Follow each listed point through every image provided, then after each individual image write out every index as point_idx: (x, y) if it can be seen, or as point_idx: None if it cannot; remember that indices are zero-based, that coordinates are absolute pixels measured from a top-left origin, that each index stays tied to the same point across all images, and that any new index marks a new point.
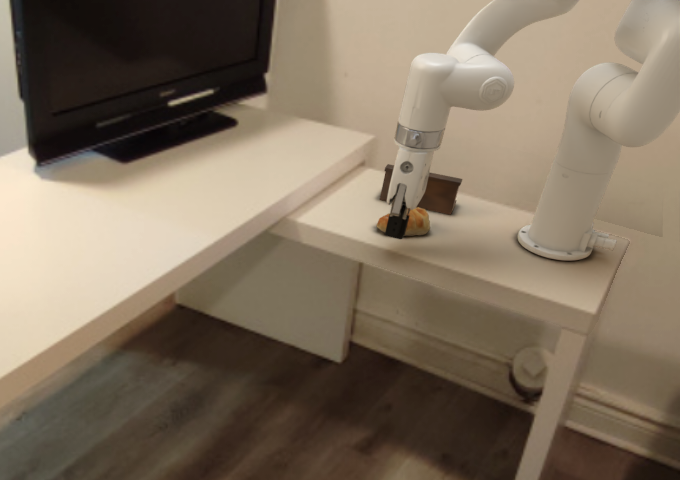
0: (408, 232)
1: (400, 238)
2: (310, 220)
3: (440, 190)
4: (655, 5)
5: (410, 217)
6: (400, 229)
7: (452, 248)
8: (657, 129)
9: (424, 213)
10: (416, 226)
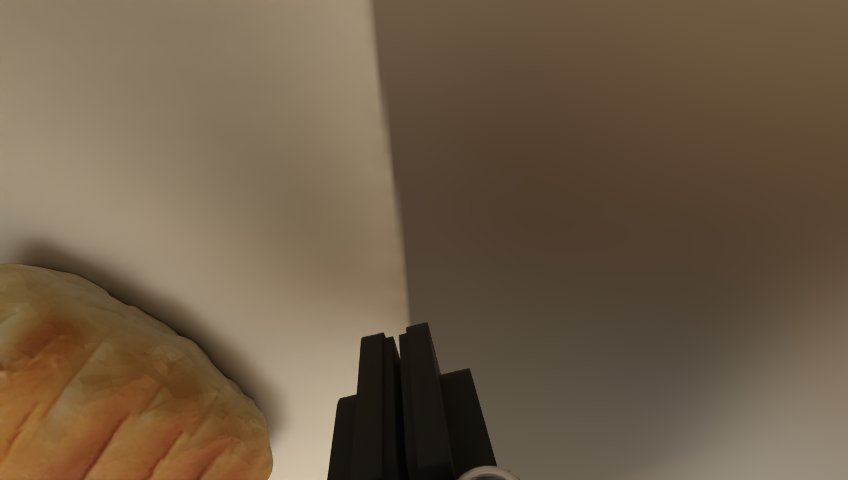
0: (172, 342)
1: (429, 332)
2: None
3: None
4: None
5: (83, 433)
6: (441, 394)
7: (38, 17)
8: None
9: None
10: (95, 344)
